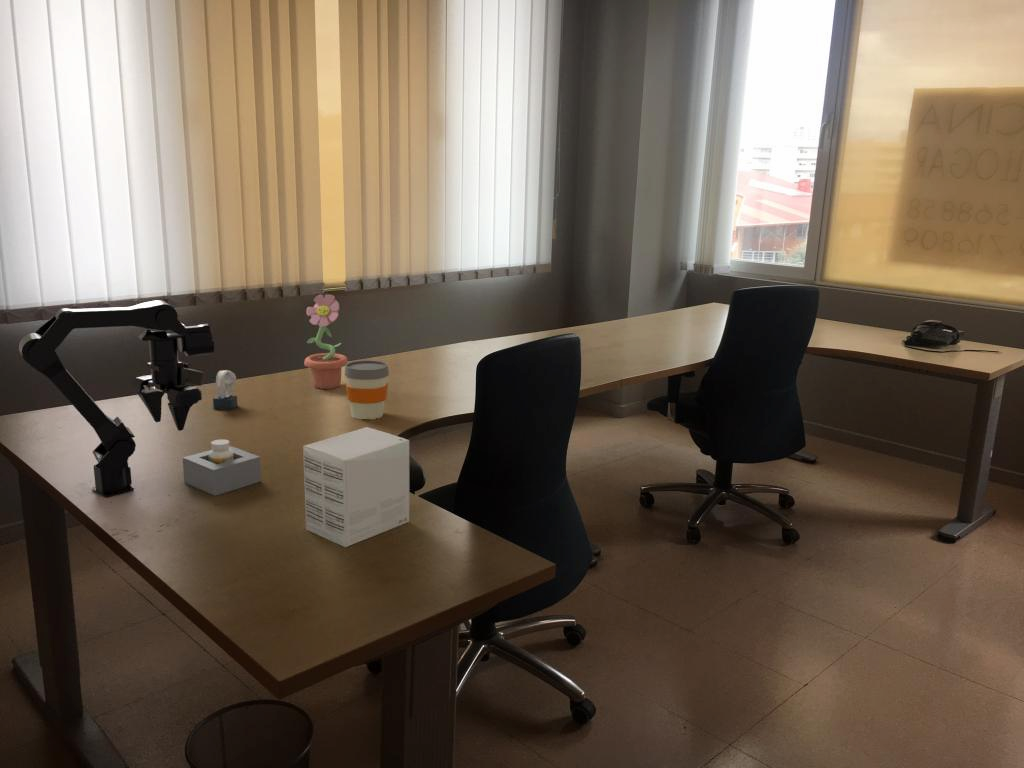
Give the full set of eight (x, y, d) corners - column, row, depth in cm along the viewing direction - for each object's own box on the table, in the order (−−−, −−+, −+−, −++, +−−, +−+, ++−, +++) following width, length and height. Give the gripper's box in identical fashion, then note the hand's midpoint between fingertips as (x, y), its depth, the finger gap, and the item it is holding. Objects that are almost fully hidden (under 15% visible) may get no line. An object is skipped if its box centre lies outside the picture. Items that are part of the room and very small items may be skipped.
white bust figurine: (239, 403, 262) (238, 368, 260) (229, 411, 255) (227, 374, 252) (221, 403, 263) (219, 367, 260) (210, 410, 255) (208, 373, 252)
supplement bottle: (239, 480, 201) (238, 441, 199) (221, 487, 197) (220, 447, 194) (222, 476, 204) (220, 436, 201) (204, 483, 199) (202, 442, 197)
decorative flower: (293, 389, 281) (290, 296, 273) (315, 379, 293) (313, 290, 286) (335, 393, 277) (333, 299, 269) (355, 383, 289) (354, 293, 282)
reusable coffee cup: (393, 410, 260) (393, 361, 257) (383, 422, 248) (382, 371, 244) (352, 408, 261) (351, 359, 258) (340, 420, 249) (338, 368, 246)
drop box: (215, 495, 192) (213, 470, 191) (184, 482, 199) (182, 457, 198) (260, 481, 201) (259, 456, 200) (229, 469, 208) (228, 445, 207)
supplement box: (368, 505, 189) (367, 425, 185) (411, 522, 181) (411, 439, 177) (303, 529, 176) (300, 444, 172) (346, 549, 168) (344, 460, 164)
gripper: (221, 359, 194) (224, 426, 198) (174, 346, 205) (178, 410, 209) (175, 367, 185) (180, 438, 189) (128, 353, 196) (134, 420, 200)
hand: (169, 426), depth 197 cm, fingers open, 9 cm apart
